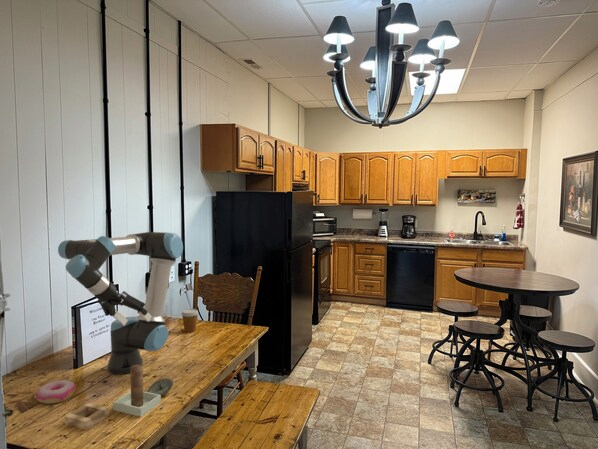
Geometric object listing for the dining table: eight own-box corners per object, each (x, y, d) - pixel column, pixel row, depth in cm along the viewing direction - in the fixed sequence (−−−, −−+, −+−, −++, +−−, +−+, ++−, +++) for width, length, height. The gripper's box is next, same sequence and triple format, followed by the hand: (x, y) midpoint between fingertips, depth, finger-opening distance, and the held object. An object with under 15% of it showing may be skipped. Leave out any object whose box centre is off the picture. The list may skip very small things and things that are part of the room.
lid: (178, 392, 170) (178, 380, 170) (156, 401, 163) (156, 389, 162) (164, 384, 177) (163, 373, 177) (142, 393, 169) (142, 381, 169)
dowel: (128, 406, 157) (127, 368, 156) (136, 401, 162) (136, 363, 160) (137, 408, 156) (137, 370, 155) (145, 403, 160) (145, 365, 159)
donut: (31, 408, 157) (30, 395, 157) (42, 392, 170) (42, 380, 169) (71, 403, 161) (70, 391, 160) (78, 387, 173) (78, 376, 173)
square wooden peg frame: (65, 424, 146) (64, 416, 146) (88, 410, 156) (88, 402, 155) (86, 430, 143) (86, 421, 142) (109, 415, 152) (109, 407, 152)
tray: (113, 410, 156) (113, 402, 156) (134, 396, 166) (134, 389, 166) (141, 416, 151) (140, 408, 151) (160, 402, 162) (160, 395, 161)
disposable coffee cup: (181, 329, 248) (181, 309, 247) (197, 327, 251) (197, 308, 250) (182, 334, 239) (181, 313, 238) (198, 332, 242) (198, 312, 241)
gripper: (74, 300, 160) (111, 332, 172) (120, 290, 150) (156, 325, 162) (85, 285, 166) (120, 317, 177) (129, 275, 156) (164, 309, 167)
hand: (137, 321), depth 170 cm, fingers open, 13 cm apart
